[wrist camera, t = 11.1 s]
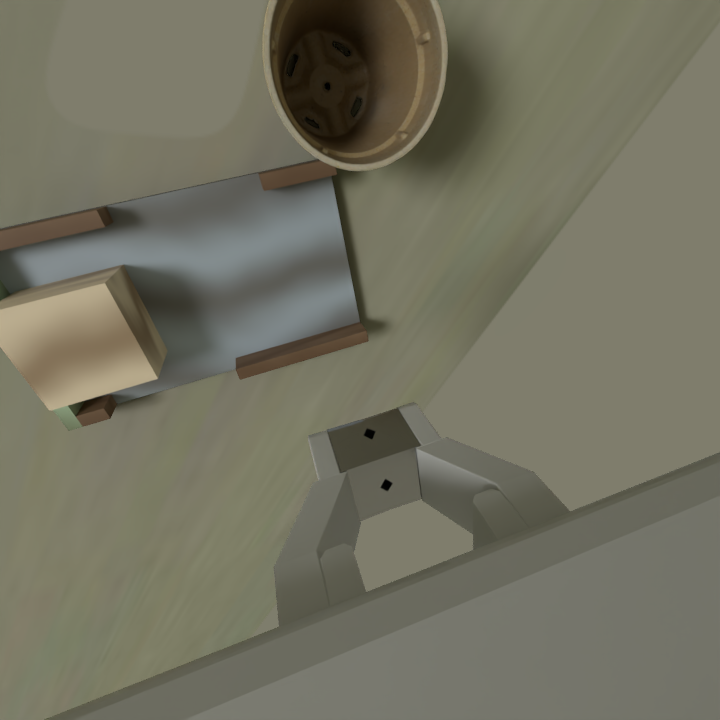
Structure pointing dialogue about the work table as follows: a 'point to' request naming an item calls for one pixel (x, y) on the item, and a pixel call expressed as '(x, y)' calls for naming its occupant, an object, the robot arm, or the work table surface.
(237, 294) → the channel
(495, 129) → the work table surface
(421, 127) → the flower pot
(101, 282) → the beech block
